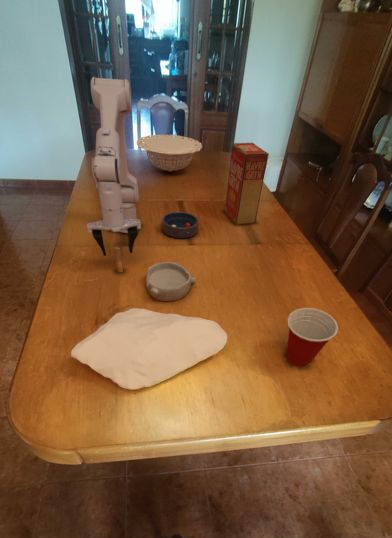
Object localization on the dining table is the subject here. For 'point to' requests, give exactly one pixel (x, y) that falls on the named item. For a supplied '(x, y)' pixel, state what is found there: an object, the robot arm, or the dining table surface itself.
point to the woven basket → (169, 150)
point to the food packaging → (245, 182)
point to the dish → (168, 281)
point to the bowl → (180, 224)
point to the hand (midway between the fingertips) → (117, 252)
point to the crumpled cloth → (148, 346)
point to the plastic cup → (308, 334)
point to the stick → (118, 259)
